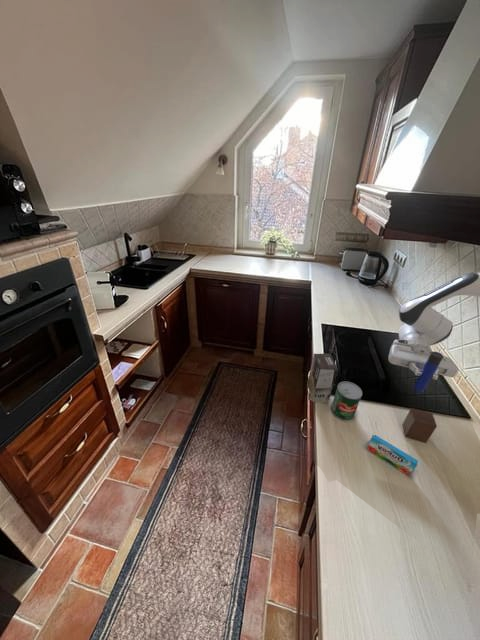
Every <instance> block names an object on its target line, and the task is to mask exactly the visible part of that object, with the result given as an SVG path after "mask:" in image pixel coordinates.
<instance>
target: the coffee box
mask: <svg viewBox="0 0 480 640" xmlns="http://www.w3.org/2000/svg"><path fill="white" fill-rule="evenodd" d="M338 371H339V367H338V366H337V364H336V362H335V360H334V358H333V356H332V354H331V353H313V356H312V360H311V365H310V370H309V375H308V379H307V385H306V386H307V389H308V392H309V395H310V399H311V402H312V403H326V404H327V403H329V402H330V398H331V395H332V392H333V388H334V384H335V381H336V378H337V376H338V375H337V374H338Z"/></svg>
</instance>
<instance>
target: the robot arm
mask: <svg viewBox="0 0 480 640" xmlns="http://www.w3.org/2000/svg"><path fill="white" fill-rule="evenodd" d="M458 296H469V297H475V298H479V299H480V272H467V273H464V274H462V275H459V276H458V277H455V278H453V279H451V280H450V281H449V280H448V281H447V282H445V283H444V284H442V285H440V286H438V287H435V288H434V289H432V290H429V291H427V292H425V293H424V294H422V295H420V296H417V297H414V298H412V299H409V300H407V301H405V303H403V304H402V305H401V306H400V308H399V309H398V316H399V320H400V322H402V323H404V324H402V325H401V326H400V328H399V330H398V339H394V340H393V342H392V344H391V346H390V348H389V352H388V353H389V354H388V356H387V358H388V362H389V363H390V364H392V365H395V366H399V367H400V366H401V367H404V368H408V369H409V370H410V371H412V372H413V373H414V375H415V376H417V377H418V376H421V374H422V369H423V367H424V365H425V363H426V361H427V360H428V358H429V356H430V354H431V352H434V350H433V349H432V347H431V346H434V345H437V344H439V343H442V342H444V341H446V339H448V338H449V337H450V335H451V334H452V331H453V328H454V324H453V322H452V321H451V320H450V319H449V318H447V317H446V316H445V315H444V314H442V313H440V312H439V311H437V310H436V309H435V308H433V307H435V306H437V305H439V304H441V303H443V302H445V301H447V300H450V299H452V298H454V297H458ZM459 371H460V369H459V367H458V366H457V364H456V363H455V362H454V360H453V359H451V358H450V357H448V356H446V355H443V359H442V360H441V362H440V364H439V366H438V367H437V369H436V371H435V373H434V374H433V376H432V378H431V380H435V381H437V380H438V379H439V375H440V376H443V377H448V378H454V377H455V376H457V374H458V372H459Z"/></svg>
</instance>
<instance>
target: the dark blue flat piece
mask: <svg viewBox="0 0 480 640" xmlns="http://www.w3.org/2000/svg"><path fill="white" fill-rule="evenodd" d="M443 356H444V355H443V354H442V353H441V352H438V351H433V352H431V354H430V356H429V358H428V360H427V361H426V363H425V365H424V367H423V369H422V374H421V376H417V378H416V380H415V382H414V383H413V385H412V388H413V389H414V391H416V392H418V393H424V392H425V390H426V389H427V387H428V385H429V383H430V382H431V380H432V379H431V378H432V376H433V374H434V373H435V371H436V369H437V367H438V366H439V364H440V362H441V360H442V359H443Z"/></svg>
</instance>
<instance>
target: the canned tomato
mask: <svg viewBox="0 0 480 640" xmlns="http://www.w3.org/2000/svg"><path fill="white" fill-rule="evenodd" d="M362 397H363V391H362V389H361V387H360V386H359V385H357V384H355V383H354V382H351V381H345V380H344V381H340V382H338V384H337V388H336V389H335V393H334V396H333V401H332V403H331V406H330V411H331V413H332V415H333V416H334V417H335V418H337V419H338V420H340V421H343V422H349V421H352V420H353V419H354V417H355V414H356V413H357V410H358V407H359V404H360V401H361V399H362Z"/></svg>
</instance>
